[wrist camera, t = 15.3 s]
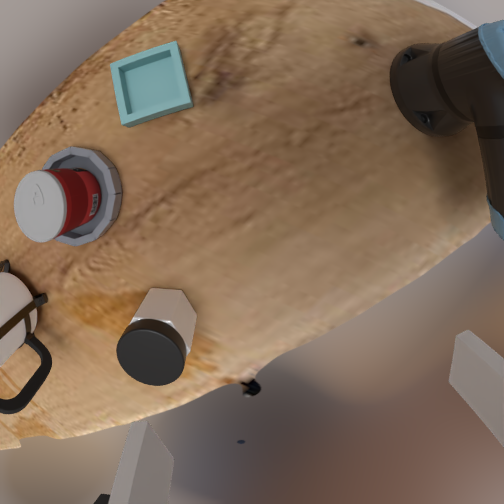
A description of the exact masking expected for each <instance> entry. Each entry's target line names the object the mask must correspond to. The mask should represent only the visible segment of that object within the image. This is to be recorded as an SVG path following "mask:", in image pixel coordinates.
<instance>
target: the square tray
mask: <svg viewBox="0 0 504 504" xmlns="http://www.w3.org/2000/svg"><path fill="white" fill-rule="evenodd" d="M110 67H111V73H112V78H113V84H114V89H115V95H116V100H117V105H118V110H119V115H120V119H121V124H122V125H123V126H126V127H132V126H135V125H137V124H140V123H143V122H146V121H149V120H152V119H155V118H158V117H161V116H164V115H167V114H171V113H174V112H177V111H180V110H184V109H187V108H191V107H194V106H193V102H192V98H191V94H190V90H189V86H188V81H187V77H186V73H185V69H184V65H183V61H182V56H181V52H180V48H179V46H178V44H177V41H174V42H170V43H167V44H164V45H161V46H158V47H155V48H152V49H149V50H146V51H143V52H140V53H137V54H135V55H132V56H129V57H127V58H124V59H121V60H119V61H116V62H114V63H111V64H110Z"/></svg>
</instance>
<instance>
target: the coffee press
mask: <svg viewBox="0 0 504 504" xmlns="http://www.w3.org/2000/svg"><path fill="white" fill-rule="evenodd" d="M4 265H5V268H4V272H1V271H2V269H3V266H4ZM9 267H10V263H9V261H8V260H4V261H1V262H0V367H1V366H2V365H3V364H4V363H5V362H6V360H7V359H8V358H9V357H10V356H11V355H12V354H13V353H14V352H15V351H16V350H17V349H18V348H20V347H21V346H22V345H23V344H24V343H26V344H28V345H29V346H30V347H31V348H33V349H34V350H35V351H36V352H37V353H38V354H39V356H40V358H41V365H40V367H39V368H38V369H37V371H36V372H35V373H34V375H33V376H32V377H31V379H30V380H29V381H28V382H27V384H26V385H25V386H24V388H23V389H22V390H21V392H20V393H19V394H18V395H17V396H16V397H15V398H12V399H8V400H4V399H1V398H0V413H3V414H14V413H17V412H19V411H21V410H22V409H24V408H25V407H26V406H27V404H28V403H29V402H30V401H31V399H32V398H33V396H34V395H35V394H36V392H37V391H38V389H39V388H40V387H41V385H42V384H43V382H44V381H45V379H46V378H47V376H48V374H49V372H50V370H51V367H52V358H51V355H50V352H49V351H48V349H47V348H46V347H45V346H44V345H43V344H42V343H41V342H40V341H39V340H38V339H37V338H36V337H35V336H34V333H33V331H34V330H35V327H36V324H37V310H36V308H37V307H38V306H40V305H43V304H45V303H46V302H47V298H46V295H45V293H42V294H39V295H37V296H34V297H32V295H31V293H30V291H29V290H28V288H27V287H26V286H25V284H24V283H23V282H22V281H21V280H20V279H18V278H17V277H16V276H14V275H12V274H10V273H9ZM24 341H25V342H24ZM23 342H24V343H23Z"/></svg>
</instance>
